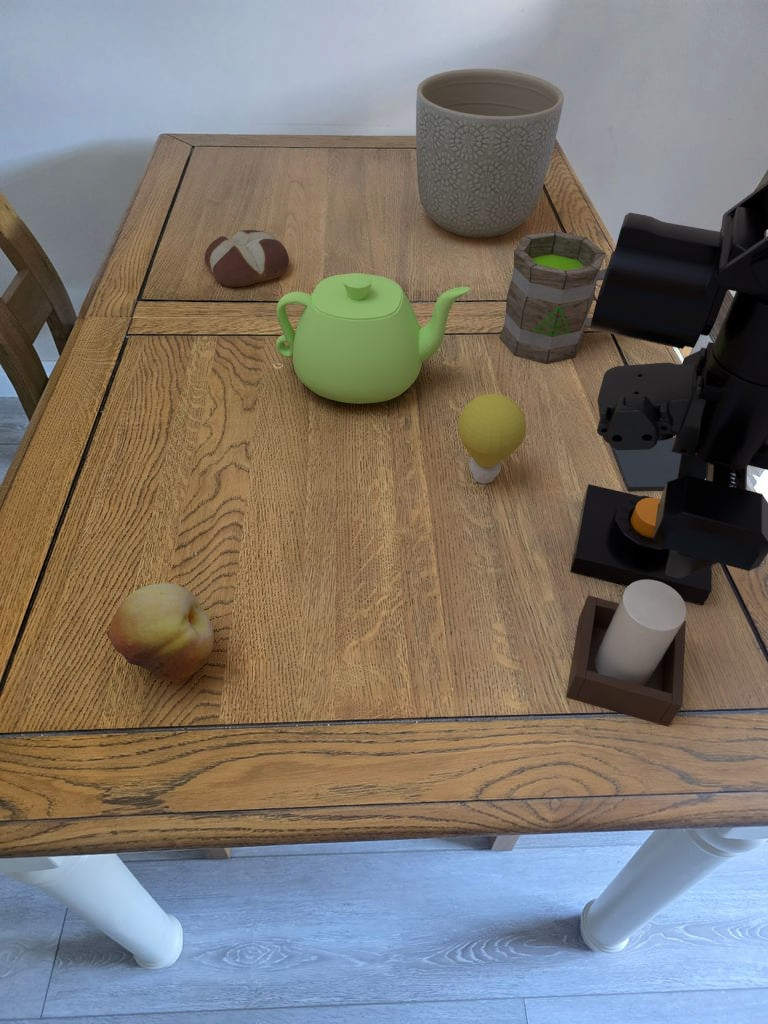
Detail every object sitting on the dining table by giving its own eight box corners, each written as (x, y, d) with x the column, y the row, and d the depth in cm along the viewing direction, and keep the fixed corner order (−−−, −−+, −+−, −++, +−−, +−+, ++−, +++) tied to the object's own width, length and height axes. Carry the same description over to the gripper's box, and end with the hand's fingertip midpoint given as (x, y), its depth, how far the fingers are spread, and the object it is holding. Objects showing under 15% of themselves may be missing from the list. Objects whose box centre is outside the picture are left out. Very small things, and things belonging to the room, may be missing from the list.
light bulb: (528, 478, 75) (546, 403, 67) (484, 508, 72) (498, 433, 64) (482, 445, 78) (494, 371, 71) (438, 473, 75) (446, 398, 68)
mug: (503, 362, 88) (518, 274, 80) (496, 315, 96) (509, 229, 87) (628, 366, 88) (658, 278, 79) (612, 318, 96) (637, 233, 87)
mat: (699, 489, 74) (701, 485, 73) (627, 490, 74) (629, 487, 73) (676, 441, 79) (677, 437, 78) (609, 442, 79) (610, 438, 78)
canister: (652, 651, 60) (687, 588, 53) (649, 698, 57) (685, 637, 50) (597, 636, 61) (625, 572, 54) (591, 682, 58) (620, 620, 51)
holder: (672, 643, 61) (686, 620, 59) (668, 726, 56) (682, 705, 53) (578, 618, 63) (587, 595, 60) (565, 697, 57) (575, 675, 55)
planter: (537, 197, 121) (559, 71, 107) (542, 257, 107) (569, 121, 93) (416, 190, 122) (422, 64, 108) (405, 248, 108) (411, 112, 94)
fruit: (198, 712, 56) (178, 659, 50) (105, 686, 58) (75, 631, 52) (237, 633, 61) (223, 577, 55) (150, 611, 62) (127, 554, 57)
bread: (298, 278, 101) (295, 245, 98) (221, 295, 98) (215, 262, 94) (272, 244, 108) (268, 212, 104) (199, 259, 105) (193, 226, 101)
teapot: (459, 348, 90) (470, 251, 81) (457, 424, 80) (469, 324, 71) (289, 337, 91) (280, 240, 82) (266, 411, 81) (252, 310, 72)
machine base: (704, 527, 70) (719, 499, 67) (703, 605, 64) (719, 579, 61) (583, 498, 73) (592, 471, 70) (570, 572, 66) (579, 544, 63)
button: (671, 515, 66) (677, 502, 65) (669, 543, 64) (675, 530, 63) (632, 506, 67) (637, 493, 66) (629, 533, 65) (634, 520, 64)
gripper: (642, 262, 50) (591, 429, 62) (603, 421, 38) (548, 592, 50) (811, 292, 48) (724, 461, 59) (825, 474, 36) (713, 641, 47)
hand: (677, 530), depth 54 cm, fingers open, 9 cm apart
